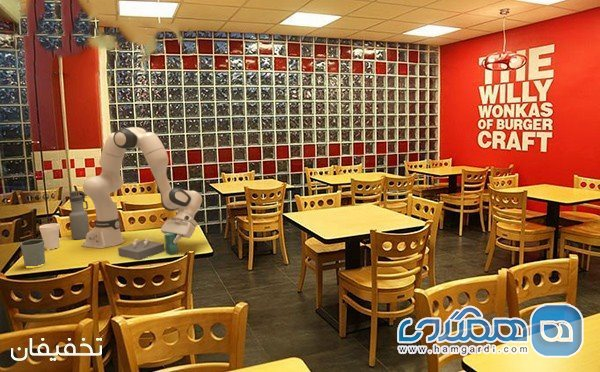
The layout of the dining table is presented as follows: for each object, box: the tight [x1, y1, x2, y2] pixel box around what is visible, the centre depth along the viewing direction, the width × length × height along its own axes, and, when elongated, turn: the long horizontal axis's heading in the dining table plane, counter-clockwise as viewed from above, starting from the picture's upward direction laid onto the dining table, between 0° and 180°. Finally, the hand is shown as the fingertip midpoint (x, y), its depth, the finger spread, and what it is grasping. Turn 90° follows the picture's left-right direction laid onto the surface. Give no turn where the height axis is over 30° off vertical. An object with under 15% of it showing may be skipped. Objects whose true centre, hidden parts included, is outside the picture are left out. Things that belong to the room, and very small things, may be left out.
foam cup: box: [38, 222, 60, 250], centre depth 248 cm, size 10×9×13 cm
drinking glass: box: [20, 238, 46, 267], centre depth 220 cm, size 10×10×12 cm
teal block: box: [164, 233, 179, 256], centre depth 231 cm, size 4×4×10 cm
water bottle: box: [68, 190, 90, 241], centre depth 267 cm, size 10×10×28 cm
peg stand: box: [117, 237, 166, 261], centre depth 233 cm, size 16×16×7 cm
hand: (170, 242), depth 230 cm, fingers closed on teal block, 4 cm apart
